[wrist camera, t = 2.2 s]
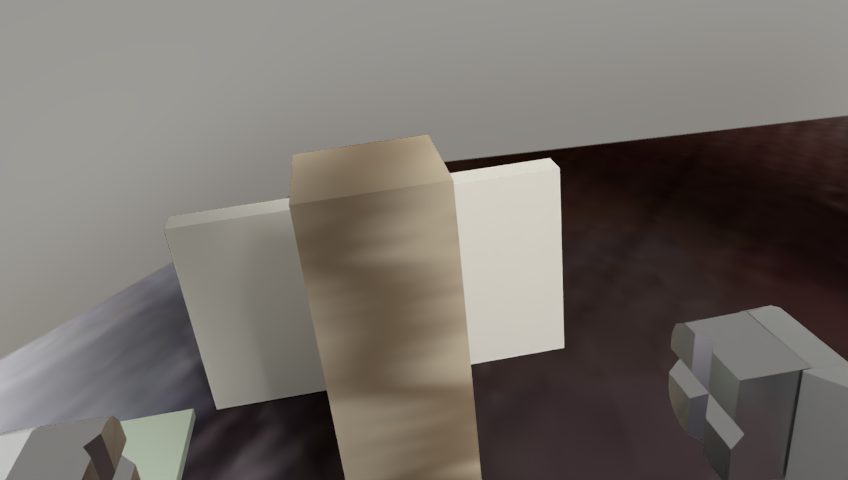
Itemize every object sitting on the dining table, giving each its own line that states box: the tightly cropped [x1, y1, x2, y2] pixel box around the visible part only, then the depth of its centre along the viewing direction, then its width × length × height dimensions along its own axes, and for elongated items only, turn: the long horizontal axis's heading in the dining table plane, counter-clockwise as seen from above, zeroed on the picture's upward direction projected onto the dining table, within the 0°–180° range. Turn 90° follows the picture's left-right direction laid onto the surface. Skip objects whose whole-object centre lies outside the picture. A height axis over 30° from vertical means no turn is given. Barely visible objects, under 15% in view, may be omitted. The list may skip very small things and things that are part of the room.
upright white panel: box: [164, 158, 564, 410], centre depth 34 cm, size 18×2×10 cm, turn 99°
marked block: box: [289, 134, 482, 480], centre depth 26 cm, size 5×5×14 cm
